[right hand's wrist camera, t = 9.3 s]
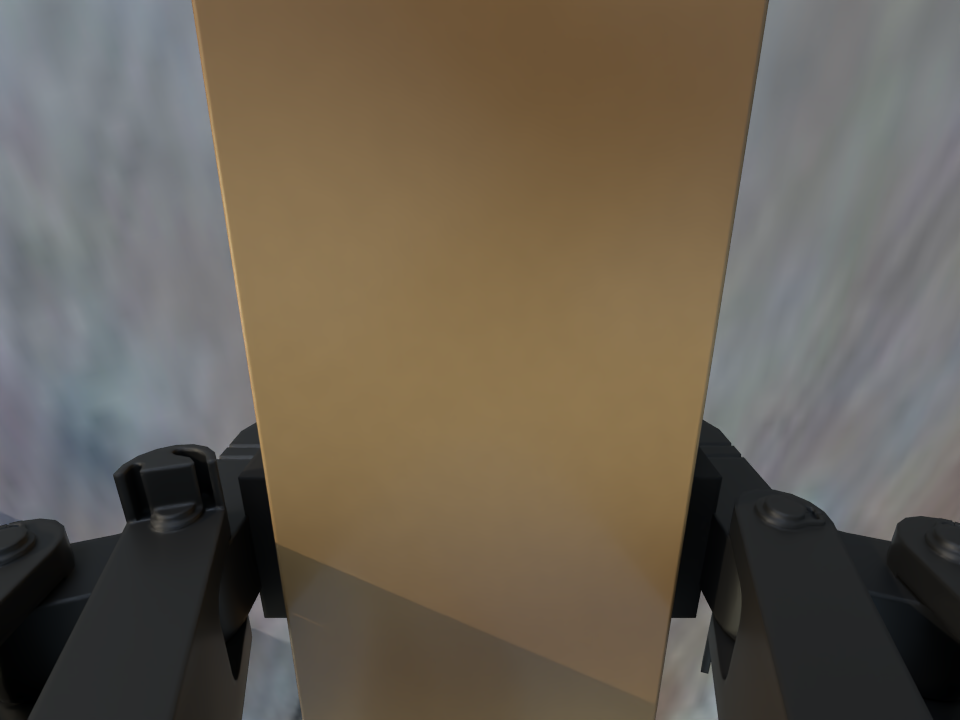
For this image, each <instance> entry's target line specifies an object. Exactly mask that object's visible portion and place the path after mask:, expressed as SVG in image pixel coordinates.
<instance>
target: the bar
mask: <svg viewBox="0 0 960 720" xmlns="http://www.w3.org/2000/svg"><path fill="white" fill-rule="evenodd" d="M768 2H769V0H192V6H193V13H194V19H195V26H196V32H197V39H198V45H199V52H200V58H201V65H202V71H203V78H204V84H205V91H206V97H207V104H208V110H209V117H210V123H211V129H212V136H213V142H214V149H215V155H216V162H217V168H218V175H219V181H220V188H221V194H222V201H223V207H224V214H225V220H226V227H227V233H228V240H229V246H230V253H231V259H232V266H233V272H234V279H235V285H236V292H237V298H238V304H239V311H240V317H241V324H242V330H243V337H244V343H245V350H246V356H247V363H248V369H249V376H250V382H251V389H252V395H253V402H254V408H255V415H256V421H257V428H258V434H259V441H260V447H261V454H262V460H263V467H264V473H265V480H266V486H267V492H268V499H269V505H270V512H271V518H272V525H273V531H274V538H275V544H276V551H277V557H278V564H279V570H280V577H281V583H282V590H283V596H284V603H285V609H286V616H287V622H288V629H289V635H290V642H291V648H292V655H293V661H294V668H295V674H296V680H297V687H298V693H299V700H300V706H301V713H302V719H303V720H655V718H656V711H657V705H658V699H659V692H660V686H661V680H662V673H663V667H664V661H665V654H666V648H667V642H668V635H669V629H670V623H671V616H672V610H673V604H674V597H675V591H676V585H677V578H678V572H679V566H680V559H681V553H682V547H683V540H684V534H685V528H686V521H687V515H688V509H689V502H690V496H691V490H692V483H693V477H694V471H695V464H696V458H697V452H698V445H699V439H700V433H701V426H702V420H703V414H704V407H705V401H706V395H707V388H708V382H709V376H710V369H711V363H712V357H713V350H714V344H715V338H716V332H717V325H718V319H719V313H720V306H721V300H722V294H723V287H724V281H725V275H726V268H727V262H728V256H729V249H730V243H731V237H732V230H733V224H734V218H735V211H736V205H737V199H738V192H739V186H740V180H741V173H742V167H743V161H744V154H745V148H746V142H747V135H748V129H749V123H750V116H751V110H752V104H753V97H754V91H755V85H756V78H757V72H758V66H759V59H760V53H761V47H762V40H763V34H764V28H765V21H766V15H767V9H768Z"/></svg>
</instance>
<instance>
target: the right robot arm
mask: <svg viewBox="0 0 960 720" xmlns="http://www.w3.org/2000/svg"><path fill="white" fill-rule="evenodd" d="M113 477H114V480H115V483H116V487H117V490H118V494H119V497H120V501H121V504H122V508H123V511H124V515H125V518H126V522H127V524H126V526H125V528H124V530H123V532H122V533H120V534H116V535H112V536H107V537H102V538H97V539H91V540H86V541H81V542H76V543H71V544H70V542H69V540H68V537H67V534H66V531H65V528H64V526H63V525H62V524H60V523H59V522H57V521H56V520H49V519H33V520H26V521H17V522H13V523H9V525H7V524H5V525H2V526H0V720H242V713H243V705H244V697H245V689H246V681H247V673H248V666H249V658H250V650H251V642H252V633H251V626H250V621H249V616H248V614H249V612H250V610H251V608H252V606H253V604H254V602H255V600H256V598H257V596H258V594H259V592H260V596H261V601H262V607H263V612H264V617H265V618H287V616H286V609H285V603H284V596H283V590H282V583H281V577H280V570H279V564H278V557H277V551H276V544H275V538H274V531H273V525H272V518H271V512H270V505H269V499H268V492H267V486H266V480H265V473H264V467H263V460H262V454H261V447H260V441H259V434H258V428H257V422H256V423H255V424H253V425H251V426H249V427H248V428H246V429H244V430H243V431H241V432H240V433H239V435H238V436H237V437H236V438H235V439H234V440H233V442H232V443H231V444H230V447H229V448H226V450H225V451H224V452H223V453H222V454H221V455H220V459H217V460H216V455H215V452H214V451H212V450H211V449H209V448H208V447H205V446H200V445H195V444H189V445H174V446H169V447H164V448H160V449H156V450H153V451H150V452H148V453H145V454H142V455H139V456H137V457H136V458H134V459H132V460H130V461H129V462H127V463H125V464H123V465H122V466H121V467H120V468H119V469H118V470H117V471H116V472H115V473H114V474H113ZM701 591H702V593H703V595H704V597H705V598H706V600H707V602H708V604H709V606H710V608H711V610H712V616H711V621H710V626H709V631H708V636H707V641H706V646H705V651H704V656H703V660H702V667H701V672H703V673H708V672H709V668H710V663H711V664H712V672H713V680H714V688H715V696H716V704H717V712H718V720H960V523H958V522H955V523H954V522H952V521H951V520H946V519H942V518H931V517H924V516H918V517H909V518H905V519H903V520H902V521H900V522H899V523H898V524H897V526H896V529H895V532H894V535H893V538H892V541H886V540H881V539H876V538H871V537H866V536H861V535H856V534H850V533H846V532H842V531H838V530H837V529H836V527H835V525H834V523H833V522H832V521H831V519H830V518H829V517H828V516H827V515H826V513H825V512H824V511H822V510H821V509H819V508H818V507H817V506H815V505H814V504H812V503H811V502H809V501H807V500H804V499H802V498H800V497H797V496H795V495H793V494H789V493H785V492H781V491H777V490H772V489H771V488H770V487H769V486H768V484H767V483H766V482H765V481H764V480H763V479H762V478H761V477H760V475H759V474H758V473H757V472H756V471H755V470H754V469H753V467H752V466H751V465H750V464H749V463H748V462H747V461H746V459H745V458H744V457H741V454H740V453H739V451H738V450H737V449H736V448H735V447H734V446H731V442H730V441H729V440H728V439H727V438H726V437H725V435H724V434H723V433H722V432H721V431H720V430H719V429H718V428H716V427H714V426H712V425H711V424H709V423H707V422H706V421H704V420H702V426H701V433H700V439H699V445H698V452H697V458H696V464H695V471H694V477H693V483H692V490H691V496H690V502H689V509H688V515H687V521H686V528H685V534H684V540H683V547H682V553H681V559H680V566H679V572H678V578H677V585H676V591H675V597H674V604H673V610H672V616H671V618H696V614H697V609H698V603H699V598H700V593H701Z"/></svg>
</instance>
